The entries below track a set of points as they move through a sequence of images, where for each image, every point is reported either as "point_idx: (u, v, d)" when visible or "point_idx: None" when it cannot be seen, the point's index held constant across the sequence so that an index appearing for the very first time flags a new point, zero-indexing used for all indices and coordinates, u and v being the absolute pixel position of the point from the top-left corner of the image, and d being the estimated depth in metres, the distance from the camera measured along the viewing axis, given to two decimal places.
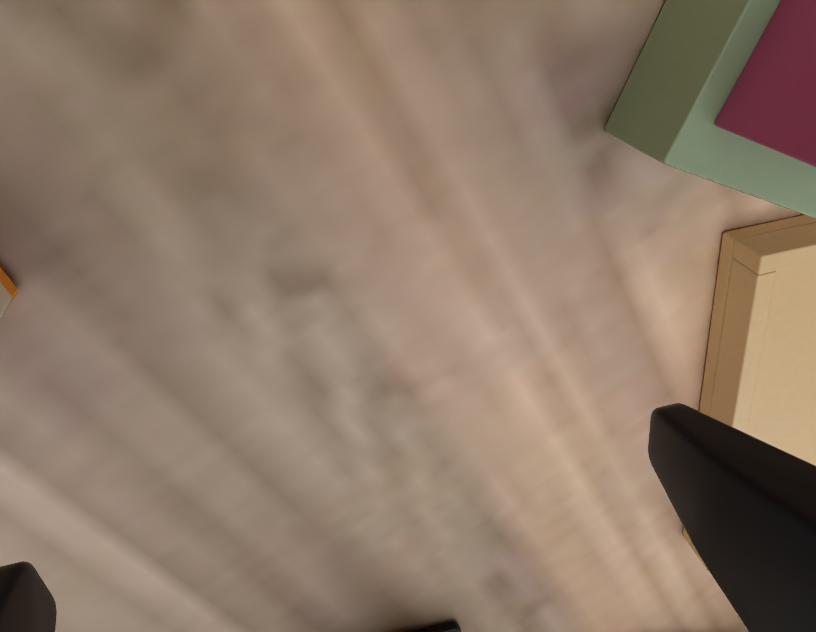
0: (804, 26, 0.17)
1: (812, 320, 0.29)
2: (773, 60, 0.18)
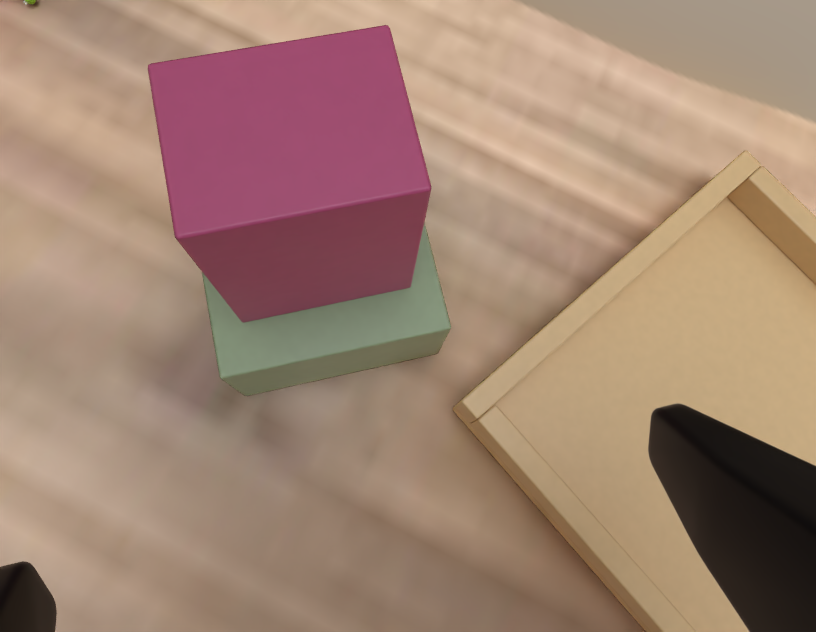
0: None
1: (641, 430, 0.23)
2: None
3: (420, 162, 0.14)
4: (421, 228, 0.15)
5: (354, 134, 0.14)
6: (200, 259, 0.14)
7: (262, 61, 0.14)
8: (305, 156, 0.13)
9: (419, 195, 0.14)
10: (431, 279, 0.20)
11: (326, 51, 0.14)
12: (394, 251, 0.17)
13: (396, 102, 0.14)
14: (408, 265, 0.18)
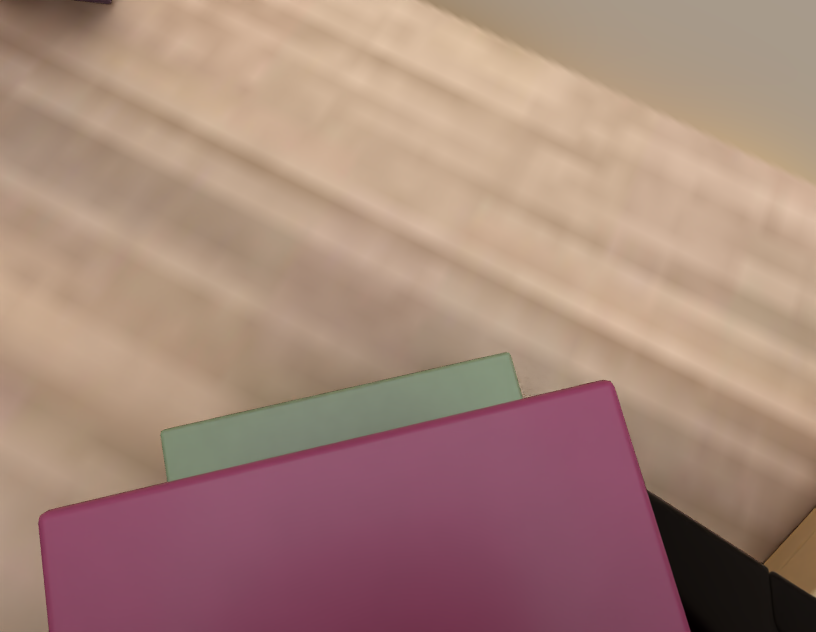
0: None
1: None
2: None
3: None
4: None
5: None
6: None
7: (321, 496, 0.06)
8: None
9: None
10: None
11: (473, 463, 0.06)
12: None
13: (652, 602, 0.06)
14: None
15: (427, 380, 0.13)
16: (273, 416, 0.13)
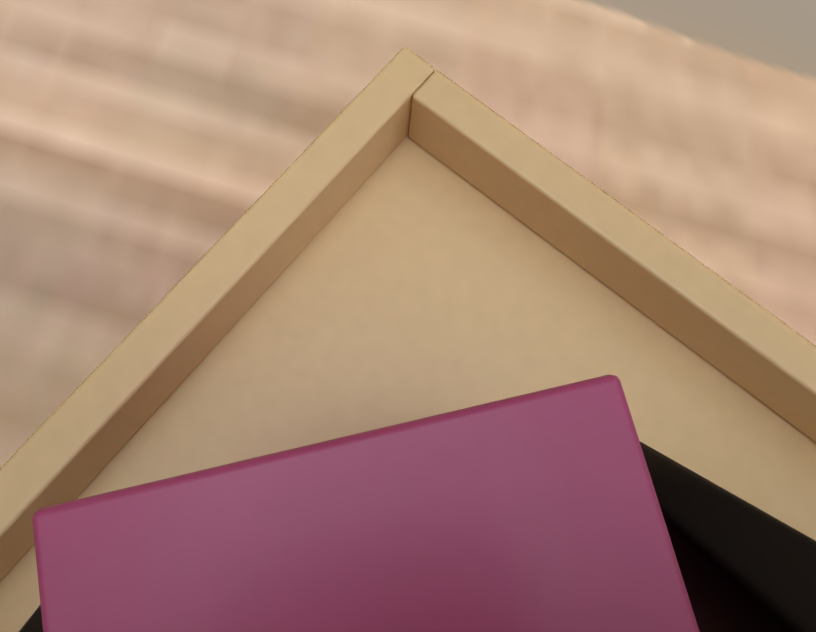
0: None
1: None
2: None
3: None
4: None
5: None
6: None
7: (321, 493, 0.06)
8: None
9: None
10: None
11: (477, 458, 0.06)
12: None
13: (660, 603, 0.05)
14: None
15: None
16: None
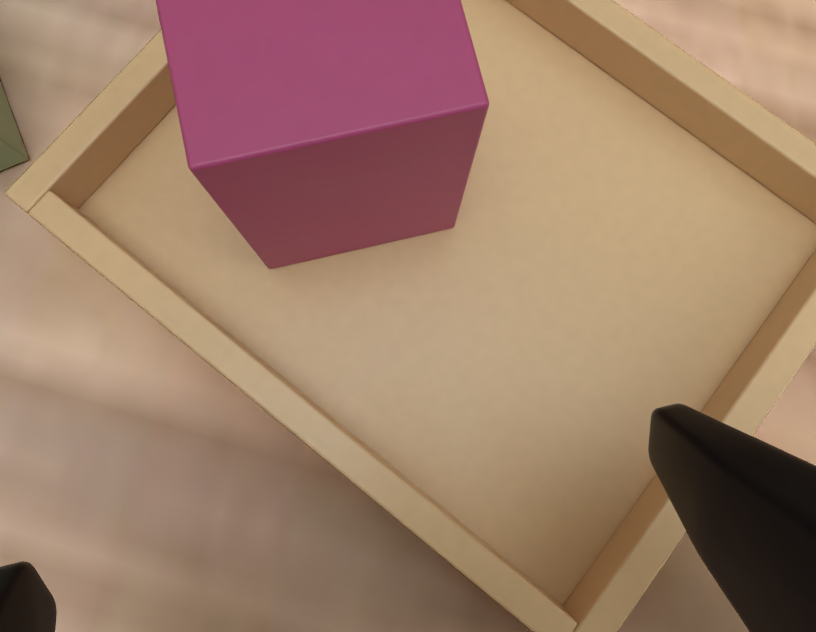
0: None
1: None
2: None
3: (475, 72, 0.11)
4: (473, 155, 0.13)
5: (395, 39, 0.11)
6: (218, 195, 0.12)
7: None
8: (339, 69, 0.11)
9: (474, 113, 0.11)
10: None
11: None
12: (439, 184, 0.14)
13: (445, 0, 0.12)
14: (454, 201, 0.16)
15: None
16: None
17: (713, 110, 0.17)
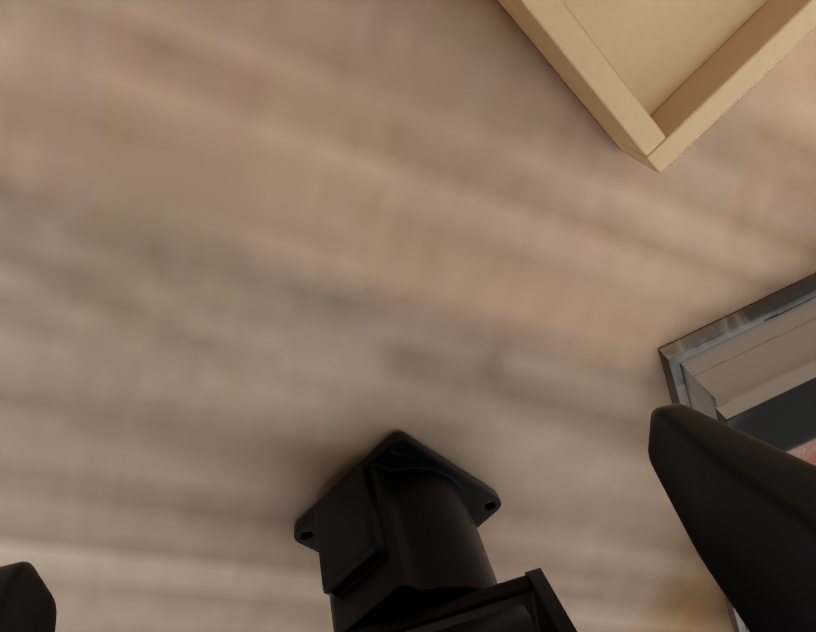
0: None
1: None
2: None
3: None
4: None
5: None
6: None
7: None
8: None
9: None
10: None
11: None
12: None
13: None
14: None
15: None
16: None
17: None
